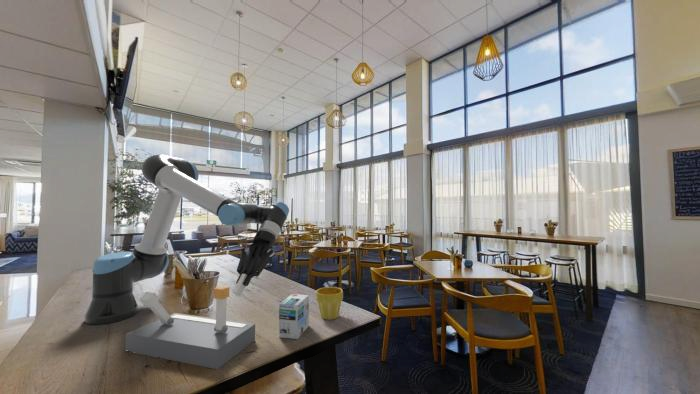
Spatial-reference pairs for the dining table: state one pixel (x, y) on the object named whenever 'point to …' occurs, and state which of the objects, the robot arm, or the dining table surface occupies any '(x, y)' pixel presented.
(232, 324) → the box
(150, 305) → the breaker on
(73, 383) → the dining table surface
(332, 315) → the plant pot
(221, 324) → the breaker
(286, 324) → the light bulb box
